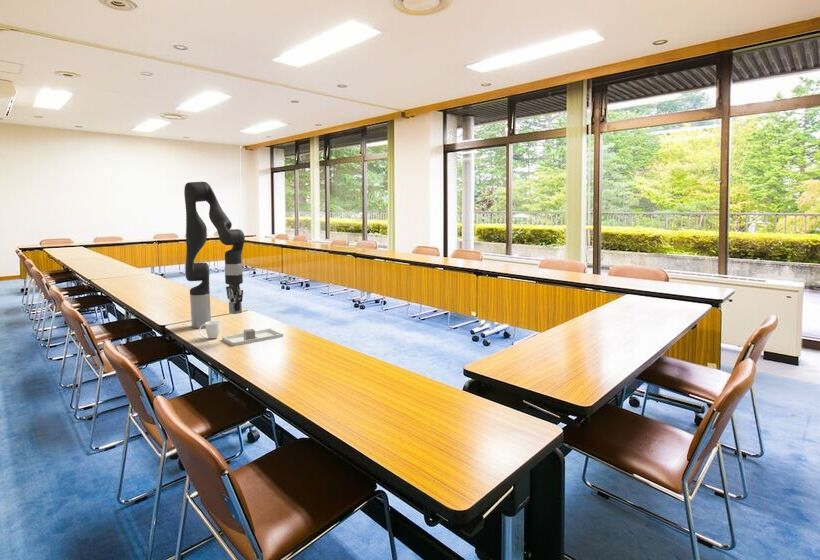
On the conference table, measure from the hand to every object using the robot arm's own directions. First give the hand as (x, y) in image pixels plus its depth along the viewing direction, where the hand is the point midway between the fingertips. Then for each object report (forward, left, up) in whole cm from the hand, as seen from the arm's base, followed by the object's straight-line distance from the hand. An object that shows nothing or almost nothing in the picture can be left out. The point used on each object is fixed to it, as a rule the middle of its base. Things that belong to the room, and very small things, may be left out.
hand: (235, 309), depth 214 cm
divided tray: (+3, +7, -15) cm, 16 cm away
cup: (-10, -8, -15) cm, 20 cm away
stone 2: (+6, +4, -14) cm, 16 cm away
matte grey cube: (0, 0, -2) cm, 2 cm away
